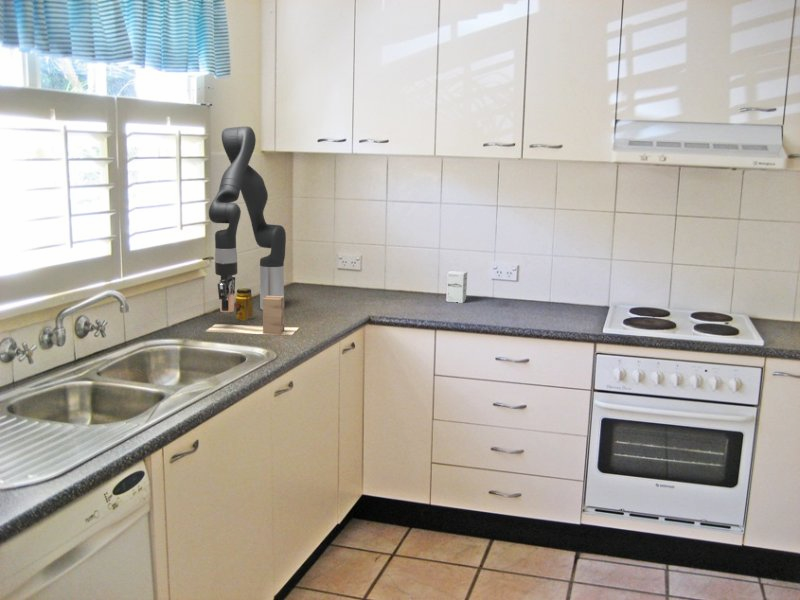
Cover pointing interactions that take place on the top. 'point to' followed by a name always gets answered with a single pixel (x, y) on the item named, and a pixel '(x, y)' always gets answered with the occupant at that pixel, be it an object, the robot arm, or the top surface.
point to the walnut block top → (273, 306)
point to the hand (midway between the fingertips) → (227, 308)
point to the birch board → (246, 329)
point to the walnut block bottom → (273, 325)
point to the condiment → (244, 305)
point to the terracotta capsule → (230, 302)
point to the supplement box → (456, 286)
